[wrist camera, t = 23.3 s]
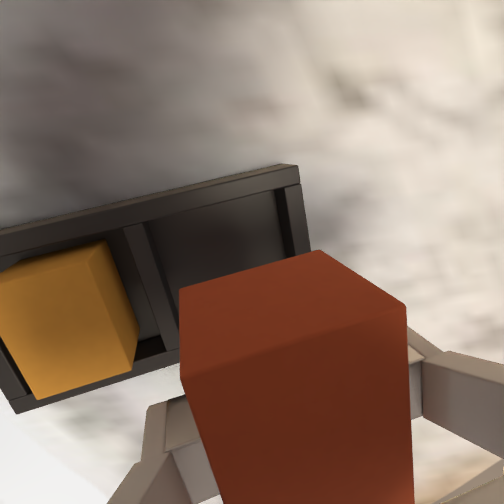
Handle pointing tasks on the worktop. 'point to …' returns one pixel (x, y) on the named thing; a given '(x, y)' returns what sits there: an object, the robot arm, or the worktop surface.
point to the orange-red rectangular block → (299, 384)
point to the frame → (167, 255)
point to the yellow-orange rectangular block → (67, 318)
